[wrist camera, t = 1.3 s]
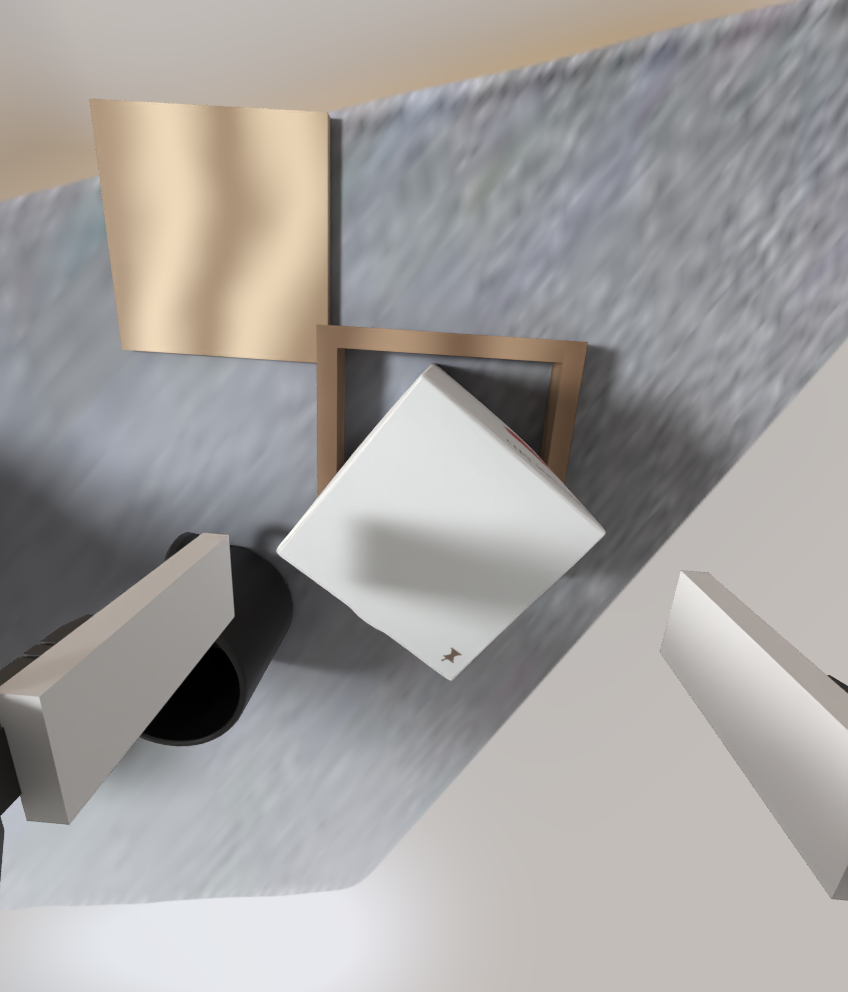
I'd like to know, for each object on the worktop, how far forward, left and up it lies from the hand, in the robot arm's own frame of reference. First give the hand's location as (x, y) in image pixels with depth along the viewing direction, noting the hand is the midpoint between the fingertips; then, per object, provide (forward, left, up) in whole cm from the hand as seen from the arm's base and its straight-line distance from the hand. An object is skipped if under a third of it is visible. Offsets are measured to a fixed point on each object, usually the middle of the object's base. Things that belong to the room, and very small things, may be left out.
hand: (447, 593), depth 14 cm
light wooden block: (-14, +12, -18) cm, 26 cm away
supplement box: (0, 0, -19) cm, 19 cm away
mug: (-15, -11, -19) cm, 26 cm away
